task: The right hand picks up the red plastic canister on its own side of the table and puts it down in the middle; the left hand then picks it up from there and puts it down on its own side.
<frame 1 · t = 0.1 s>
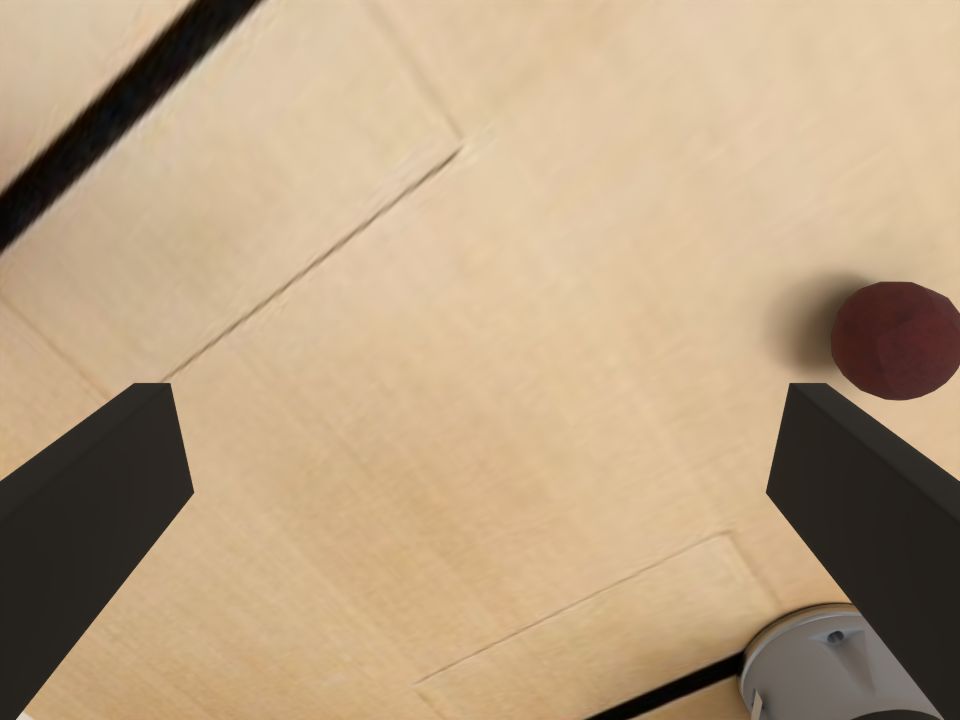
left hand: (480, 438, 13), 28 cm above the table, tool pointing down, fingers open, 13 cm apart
dark red ball: (860, 321, 41), on the table
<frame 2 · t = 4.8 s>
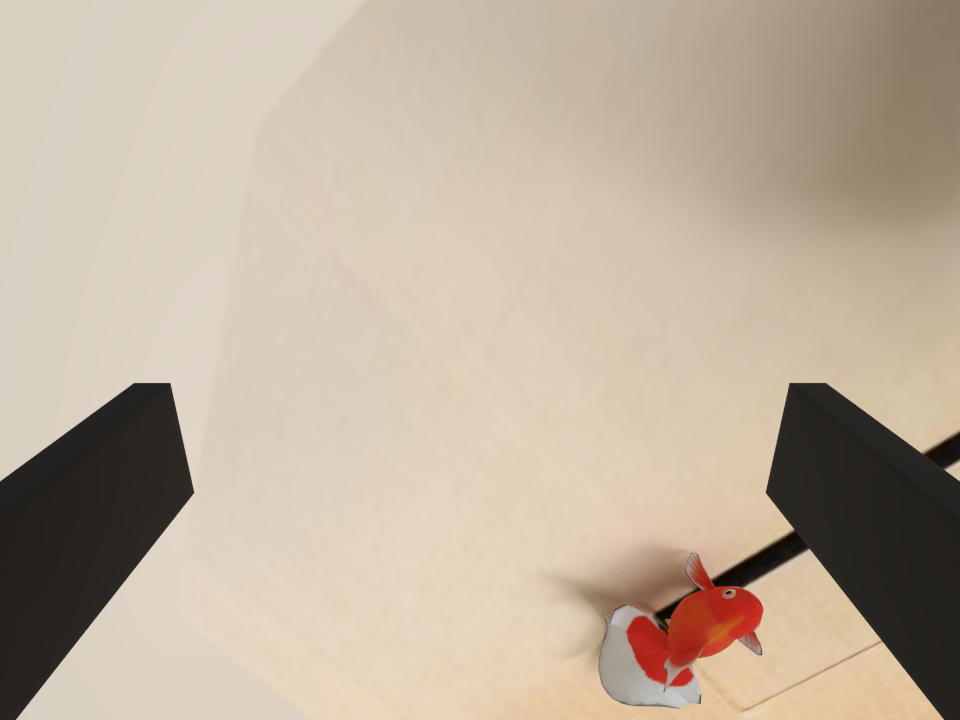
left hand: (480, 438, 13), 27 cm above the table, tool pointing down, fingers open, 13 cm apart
fish: (658, 604, 49), on the table
when the right hand's fingers open (4 cm above the table, at t = 16.4 s): canister drops 1 cm, on the table.
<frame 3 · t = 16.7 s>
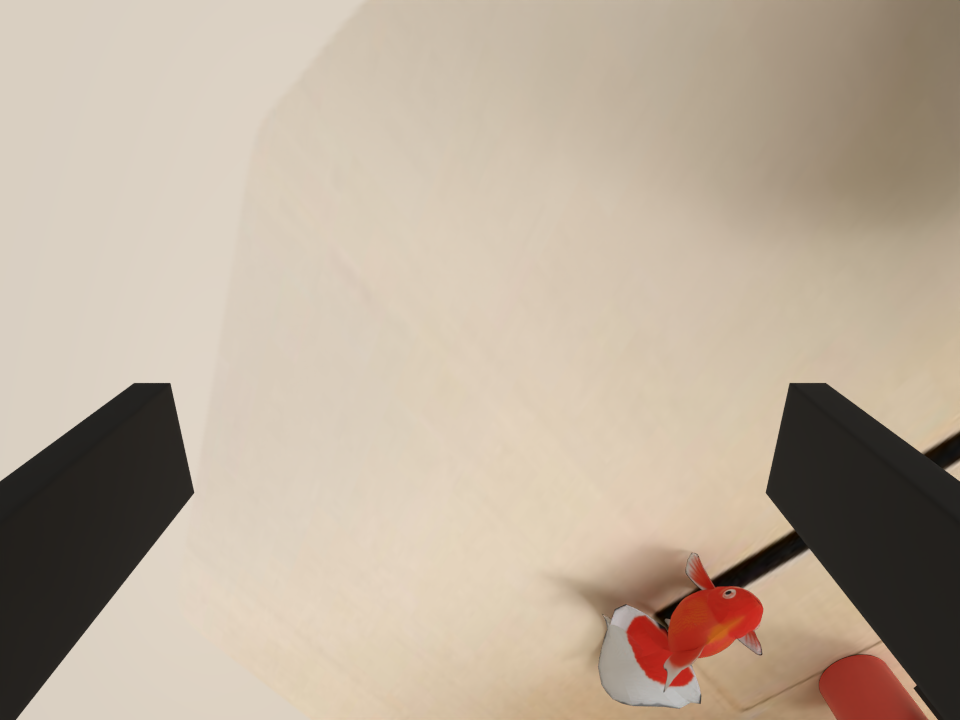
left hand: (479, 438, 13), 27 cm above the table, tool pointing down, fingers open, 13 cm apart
canister: (853, 679, 52), on the table
fish: (658, 604, 49), on the table
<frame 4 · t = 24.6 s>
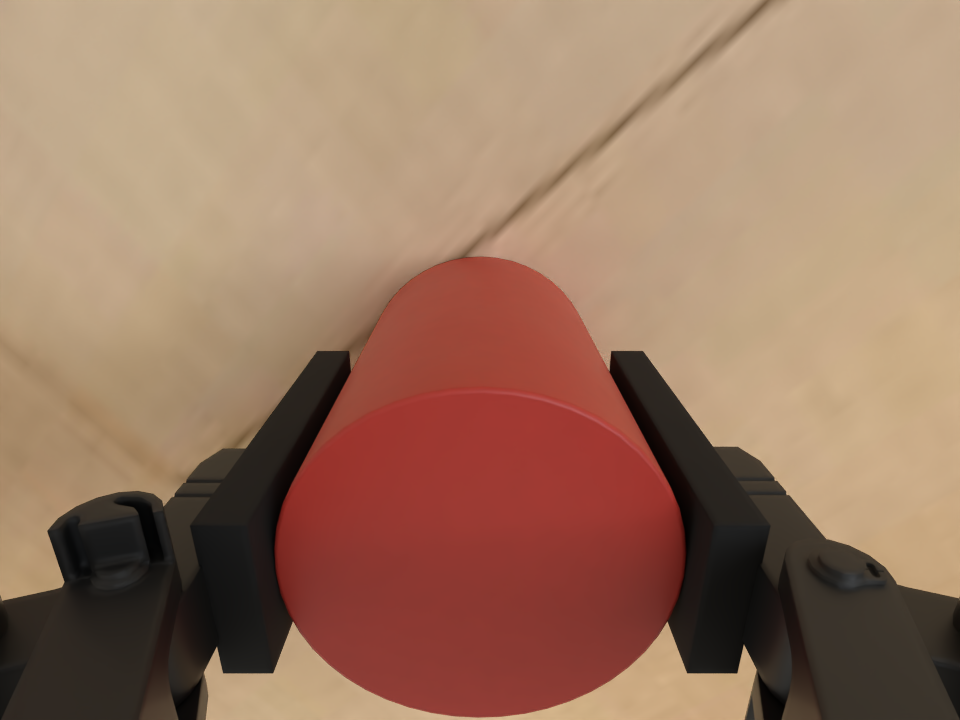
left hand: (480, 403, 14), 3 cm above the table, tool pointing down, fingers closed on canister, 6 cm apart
canister: (480, 363, 17), on the table, touching left hand
when the left hand's fingers open (4 cm above the table, at t = 31.7 s): canister drops 1 cm, on the table.
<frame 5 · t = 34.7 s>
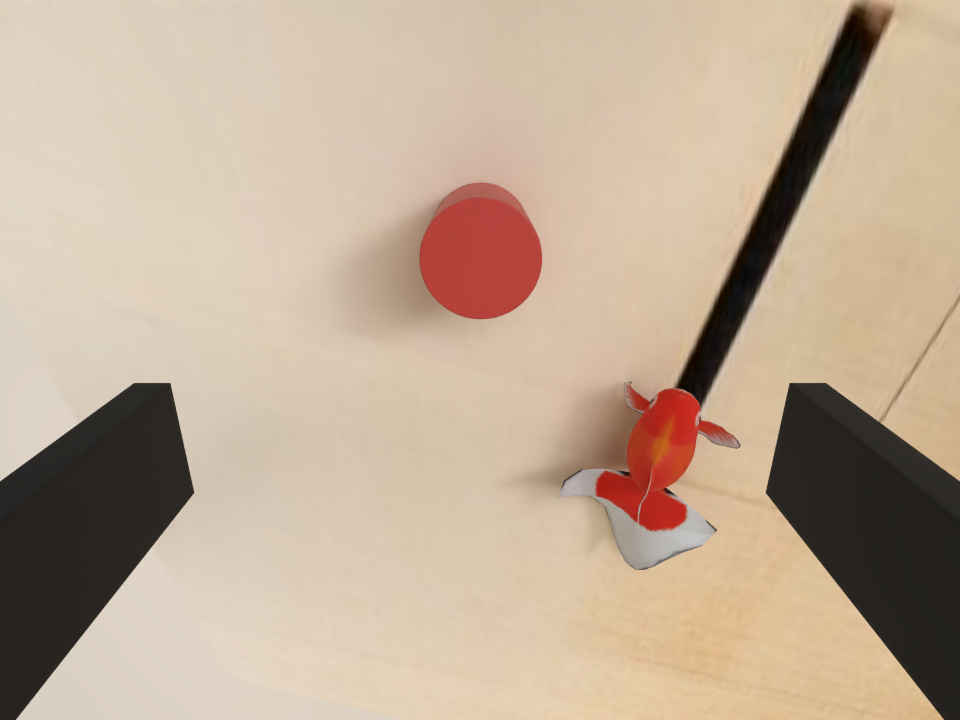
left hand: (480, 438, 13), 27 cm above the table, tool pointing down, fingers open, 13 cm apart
canister: (480, 233, 37), on the table
fish: (636, 453, 43), on the table
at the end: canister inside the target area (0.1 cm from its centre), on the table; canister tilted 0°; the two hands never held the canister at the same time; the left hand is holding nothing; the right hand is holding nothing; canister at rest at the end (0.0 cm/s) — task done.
